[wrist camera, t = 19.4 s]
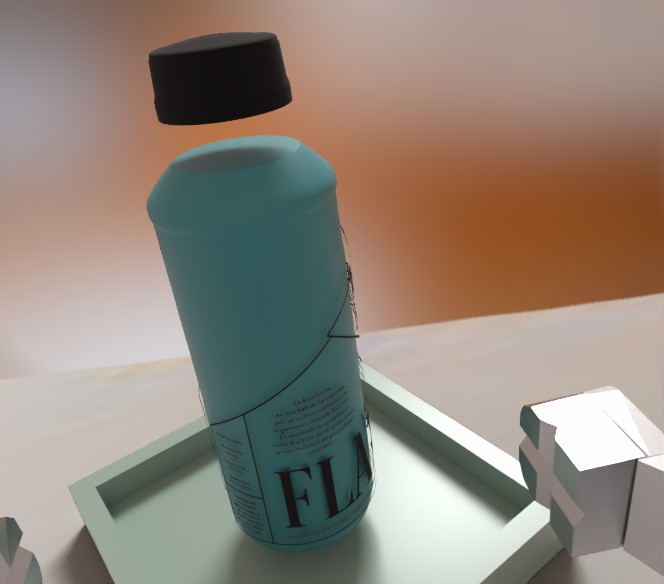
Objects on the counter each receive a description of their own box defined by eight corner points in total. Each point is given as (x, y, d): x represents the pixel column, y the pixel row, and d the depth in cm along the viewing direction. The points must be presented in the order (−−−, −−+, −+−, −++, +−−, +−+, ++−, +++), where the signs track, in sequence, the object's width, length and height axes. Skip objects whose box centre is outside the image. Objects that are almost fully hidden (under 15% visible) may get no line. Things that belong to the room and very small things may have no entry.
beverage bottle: (291, 615, 23) (155, 56, 13) (208, 515, 27) (65, 53, 18) (412, 517, 26) (372, 15, 17) (319, 443, 31) (248, 21, 21)
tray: (341, 379, 37) (336, 346, 36) (571, 539, 25) (575, 497, 24) (84, 523, 29) (67, 486, 28) (243, 851, 17) (226, 811, 16)
